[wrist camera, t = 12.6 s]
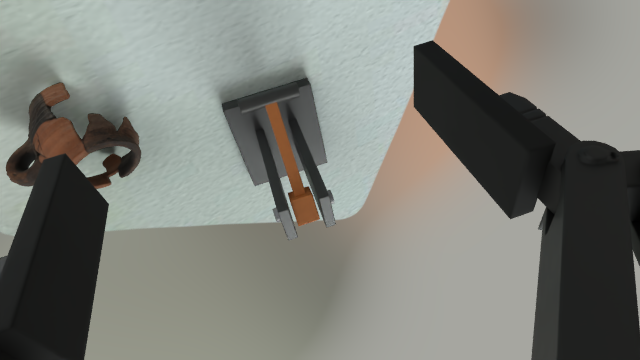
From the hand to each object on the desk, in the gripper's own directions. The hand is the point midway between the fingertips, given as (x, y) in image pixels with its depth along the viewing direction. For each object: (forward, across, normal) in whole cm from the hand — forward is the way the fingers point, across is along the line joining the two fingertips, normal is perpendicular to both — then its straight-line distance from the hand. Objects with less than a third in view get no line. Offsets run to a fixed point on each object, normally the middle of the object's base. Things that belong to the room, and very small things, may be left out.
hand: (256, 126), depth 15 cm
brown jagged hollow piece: (+27, -18, -12) cm, 35 cm away
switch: (+17, +1, -16) cm, 23 cm away
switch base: (+27, +1, -20) cm, 33 cm away
